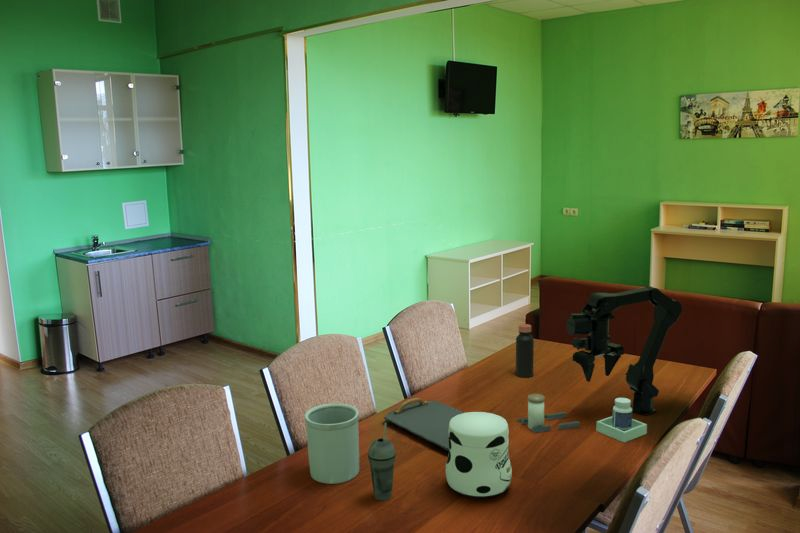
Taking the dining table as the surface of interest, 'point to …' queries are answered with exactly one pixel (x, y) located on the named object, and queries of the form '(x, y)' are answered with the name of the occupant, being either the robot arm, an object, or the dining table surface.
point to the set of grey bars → (548, 427)
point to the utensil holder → (333, 442)
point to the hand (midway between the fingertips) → (597, 378)
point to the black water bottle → (524, 351)
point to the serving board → (425, 420)
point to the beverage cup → (382, 467)
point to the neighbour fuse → (535, 410)
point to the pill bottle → (622, 414)
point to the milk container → (478, 455)
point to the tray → (624, 436)
